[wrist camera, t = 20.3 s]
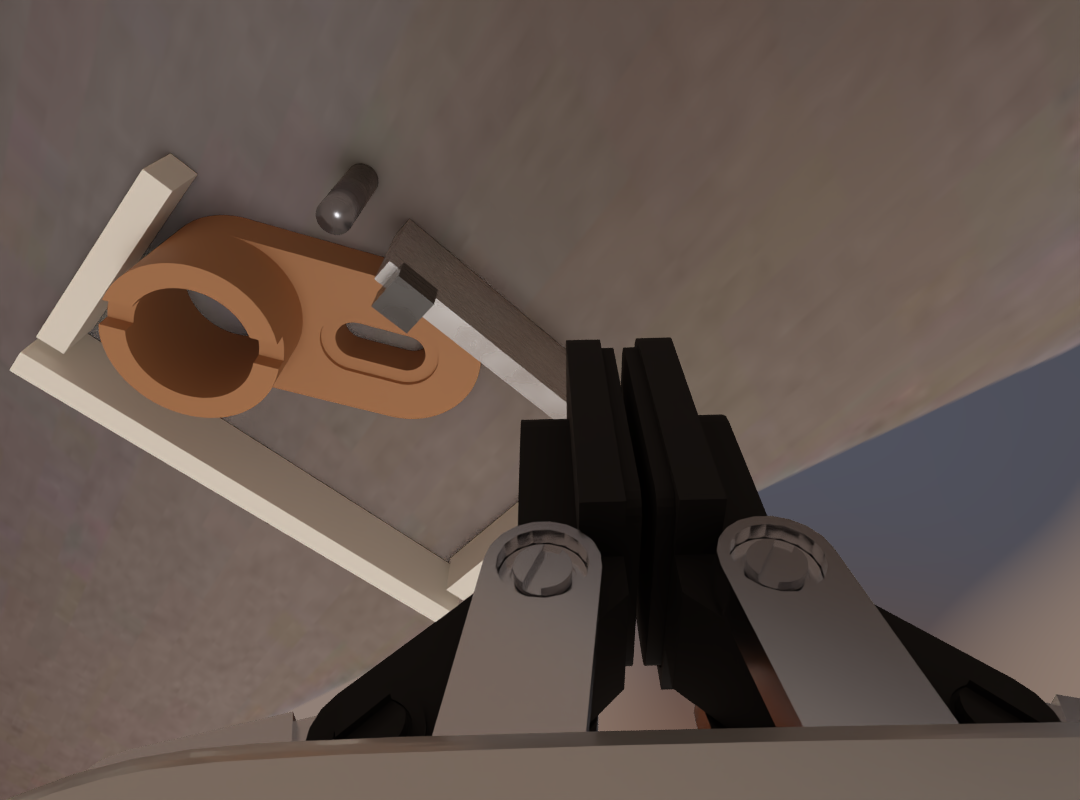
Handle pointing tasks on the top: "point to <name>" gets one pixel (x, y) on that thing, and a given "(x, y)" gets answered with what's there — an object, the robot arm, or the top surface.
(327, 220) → the post
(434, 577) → the white u-shaped frame
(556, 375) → the gate
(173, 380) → the bracket
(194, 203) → the top surface
